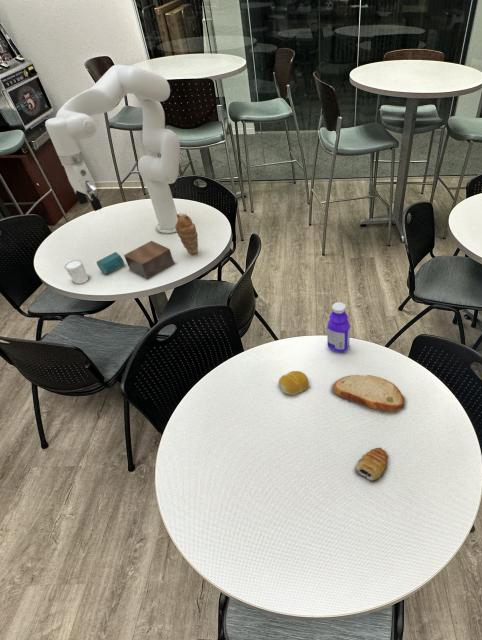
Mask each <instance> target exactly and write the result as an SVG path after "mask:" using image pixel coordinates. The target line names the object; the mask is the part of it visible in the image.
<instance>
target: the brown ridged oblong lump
mask: <svg viewBox="0 0 482 640" xmlns="http://www.w3.org/2000/svg"><path fill="white" fill-rule="evenodd" d="M177 218H178V221H177V224H176V226H175V228H176V230H177V232H176V233H177V236H178V237H179V239H180V242H181V244H182V245H183V247H184V248H185V250H186V251H187V253H188V254H190V255H192V256H193V255H197V254H198V252H199V239H198V232H197V227H196V225H195V223H193V220H192V218H191V217H190V216H189V215H188V214H187V215H182V216H180V215H179V214H178V213H177Z"/></svg>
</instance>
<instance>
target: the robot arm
mask: <svg viewBox="0 0 482 640" xmlns="http://www.w3.org/2000/svg"><path fill="white" fill-rule="evenodd" d="M128 94H132V95H133V96H134V97H135V98H136V99H137V101H138V102H139V105H140V107H141V111H142V136H141V137H142V146H143V147H144V149H146V150H147V151H149V152H151V153H154V154H160V156H156V155H150V154H146V155H145V154H144V155H142V156H141V157H140V158H139V159H138V162H137V168H138V173H139V175H140V177H141V179H142V180H143V182H144V184H145V187H146V189H147V191H148V195H149V198H150V201H151V205H152V207H153V210H154V213H155V217H156V219H157V222H158V223H157V224H156V230H157V232H159V233H161V234H173V233H177V230H176V228H175V226H176V224H177V221H178V218H177V214H179V215H180V216H182V215H187V216H188V214H187V212H183V213H181V212H178V211H177V208H176V204H175V201H174V198H173V194H172V190H171V187H170V185H171V184H174V183H175V182H176V181H177V179H178V178H179V171H180V158H181V156H180V155H181V144H180V143H181V142H180V139H179V137H178V134H177V133H175V131H173V130H172V129H168V128H166V116H165V114H166V113H165V111H164V108H163V105H162V104H161V102H165V101H167V100H168V99H169V97H170V96H171V95H170V94H171V87H170V84H169V82H168V80H167V79H166V78H165V77H164V76H163V75H161V74H159V73H156V72H153V71H150V70H146V69H143V68H141V67H139V66H135V65H126V64H114V65H112V66H111V67H110V68H108V70H107V71H106V72H105V73H103V75H102V76H101V77H100V78H99V79H98V81H96V82H95V83H94V84H93V86H92V87H90V88H88V89H85V90H83V91H82V92H80V93H78V94H76V95H74V96H72V97H71V98H69V99H68V100H67V101H66V102H65V103H64V104H63V105H62V106H61V107H60V108H59V109H58V110H57V112H56V114H55V117H52V118H49V119H48V118H47V120H46V121H45V122H44V123H45V124H44V125H45V129H46V131H47V133H48V135H49V138H50V140H51V142H52V145H53V147H54V149H55V152H56V154H57V156H58V159H59V161H60V163H61V165H62V167H63V168H64V172H65V174H66V176H67V179H68V180H67V181H68V182H69V184H70V185H71V188H72V190H73V192H74V194H75V197H76V198H77V199H76V200H77V201H78V203H79V205H80V206H81V205H84V204H87V203H90V205H91V207H92V209H93V211H94V212H97V211H99V210H102V209H103V207H102V204H101V201H100V199H99V198H100V197H99V193H98V187H97V185H96V184H95V180H94V179H93V176H92V175H91V172H90V170H89V168H88V166H87V165H86V163H85V159H84V156H83V154H82V151H81V149H80V146H79V143H78V141H79V140H86V139H90V138H92V137H94V136H95V134H96V132H97V123H96V122H95V119H93V118H92V116H95V115H101V114H105V113H109V112H112V111H113V110H114V109H115V108H116V107H117V105H118V104H119V103H120V102H121V101H122V100H123V99H124V98H125V97H126V96H127V95H128ZM86 195H87V196H86ZM88 198H89V199H90V200H89V201H88Z"/></svg>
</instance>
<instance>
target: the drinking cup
mask: <svg viewBox="0 0 482 640" xmlns="http://www.w3.org/2000/svg"><path fill="white" fill-rule="evenodd" d="M96 265H97V267H98V269H99V271H100V272H102V273H103V274H104V275H108V274H109V273H111V272H113V271H115V270H117V269H119V268H121V267H122V266H124V265H125V261H124V260H123V258H122V255H120V254H119V253H118V252H116V251H115V252H113V253H111V254H108V255H107V256H105V257H103V258H101V259H99V260H97V261H96Z"/></svg>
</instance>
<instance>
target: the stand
mask: <svg viewBox="0 0 482 640" xmlns="http://www.w3.org/2000/svg"><path fill="white" fill-rule="evenodd" d="M123 257H124V259H125V261H126V264H127V266H128V269H129V271H131V272H132V273H135V274H136V275H139V276H140V277H142V278H144V279H146V280H149V279H151V278H153V277H154V276H156V275H158V274H159V273H161V272H163V271H165V270H166V269H168V268H170V267H172V266H173V265H175V262H174V258H173V255H172V252H171V248H168V247H166V246H164V245H162V244H159V243H158V242H156V241H153V240H150V241H148V242H146V243H143V244H142V245H141V246H138V247H137V248H135V249H133V250H131V251H129V252H127V253H125V254H124V255H123Z"/></svg>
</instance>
